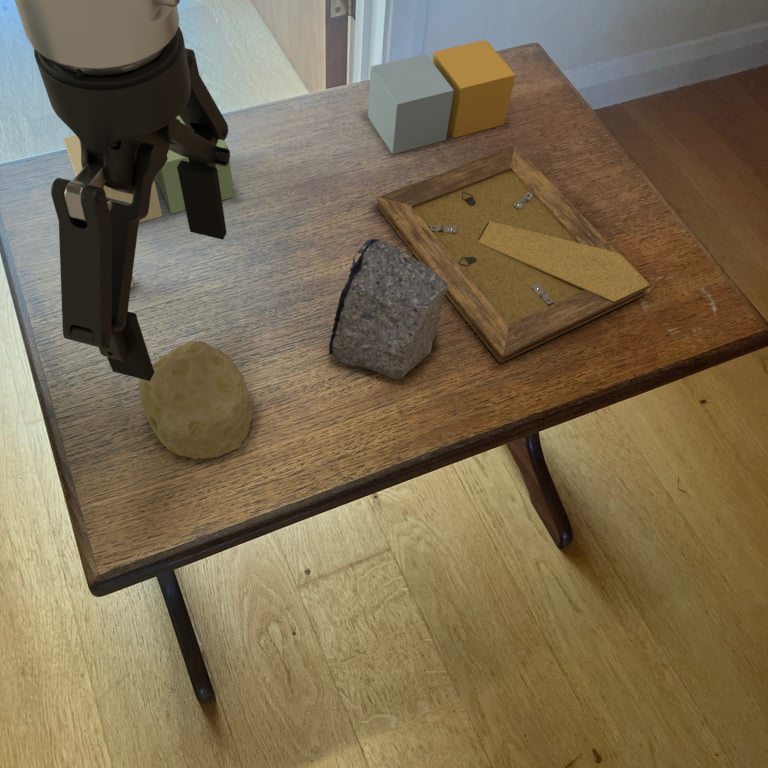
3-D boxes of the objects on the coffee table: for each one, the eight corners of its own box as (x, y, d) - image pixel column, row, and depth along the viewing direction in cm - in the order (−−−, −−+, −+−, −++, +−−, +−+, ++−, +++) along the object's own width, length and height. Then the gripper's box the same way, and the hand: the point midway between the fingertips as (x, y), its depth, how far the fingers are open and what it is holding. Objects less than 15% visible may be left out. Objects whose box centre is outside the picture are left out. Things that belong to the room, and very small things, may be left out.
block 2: (171, 214, 87) (160, 163, 81) (152, 171, 91) (141, 120, 85) (234, 197, 89) (228, 146, 83) (213, 156, 93) (206, 104, 87)
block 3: (392, 154, 95) (397, 104, 89) (367, 117, 98) (370, 66, 92) (446, 140, 97) (454, 90, 91) (419, 104, 100) (425, 53, 94)
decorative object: (223, 389, 80) (157, 320, 74) (293, 399, 73) (226, 324, 67) (168, 467, 76) (93, 401, 70) (237, 485, 69) (161, 414, 63)
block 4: (453, 138, 97) (461, 88, 91) (426, 102, 100) (433, 51, 94) (504, 124, 99) (515, 74, 93) (476, 89, 102) (486, 39, 96)
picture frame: (644, 295, 85) (513, 155, 96) (650, 284, 84) (516, 143, 94) (499, 365, 79) (376, 207, 90) (502, 354, 78) (376, 195, 88)
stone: (313, 354, 81) (363, 272, 83) (400, 404, 80) (448, 320, 83) (313, 319, 69) (372, 224, 71) (415, 378, 69) (471, 280, 71)
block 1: (96, 234, 85) (79, 183, 79) (80, 189, 88) (63, 138, 83) (162, 216, 87) (151, 166, 81) (144, 173, 90) (131, 122, 85)
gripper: (59, 218, 35) (150, 456, 52) (260, -74, 48) (278, 193, 66) (-101, 179, 35) (42, 427, 53) (140, -98, 49) (191, 173, 67)
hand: (173, 298), depth 60 cm, fingers open, 13 cm apart
